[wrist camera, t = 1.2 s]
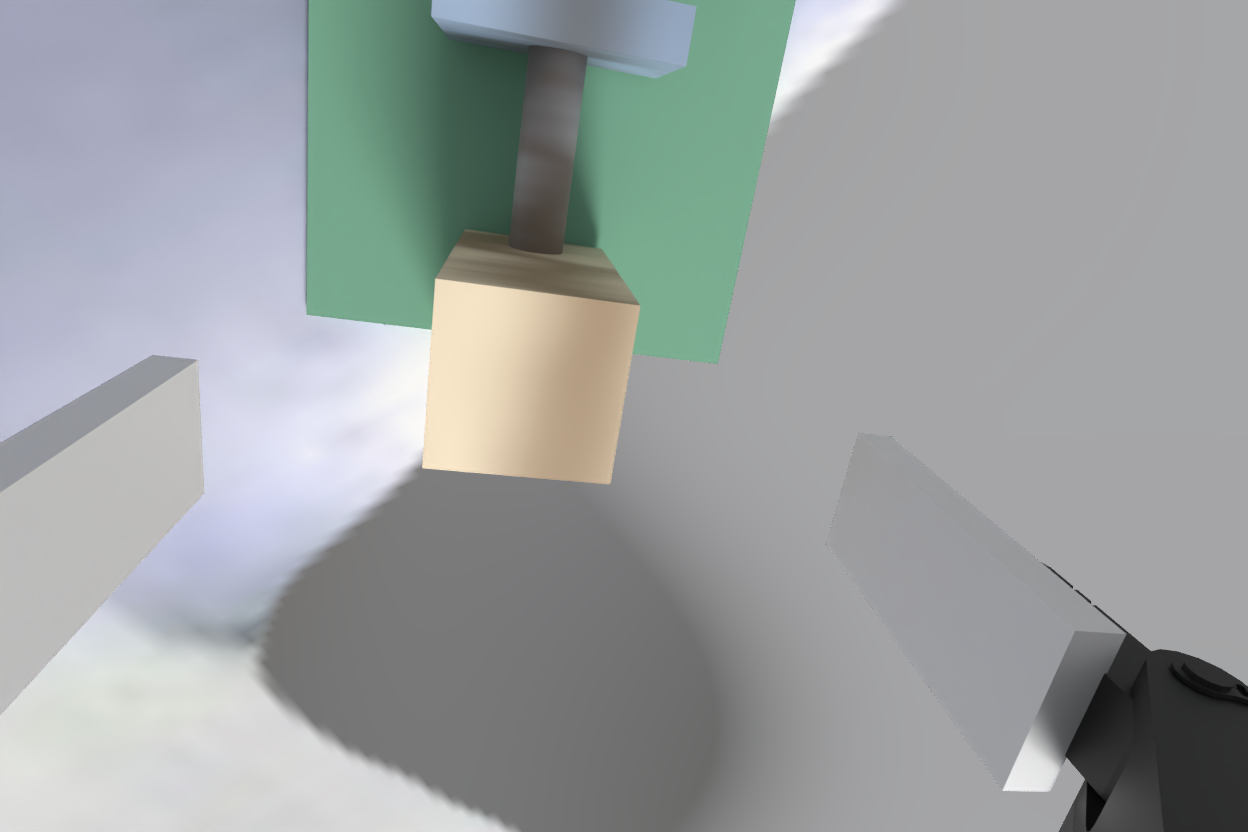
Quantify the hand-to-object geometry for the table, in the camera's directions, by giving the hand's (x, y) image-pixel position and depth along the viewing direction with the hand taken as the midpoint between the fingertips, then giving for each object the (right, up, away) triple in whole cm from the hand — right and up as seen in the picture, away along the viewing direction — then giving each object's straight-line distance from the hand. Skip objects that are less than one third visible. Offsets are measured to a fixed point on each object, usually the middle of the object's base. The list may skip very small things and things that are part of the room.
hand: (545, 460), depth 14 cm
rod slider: (-2, +9, +11) cm, 14 cm away
